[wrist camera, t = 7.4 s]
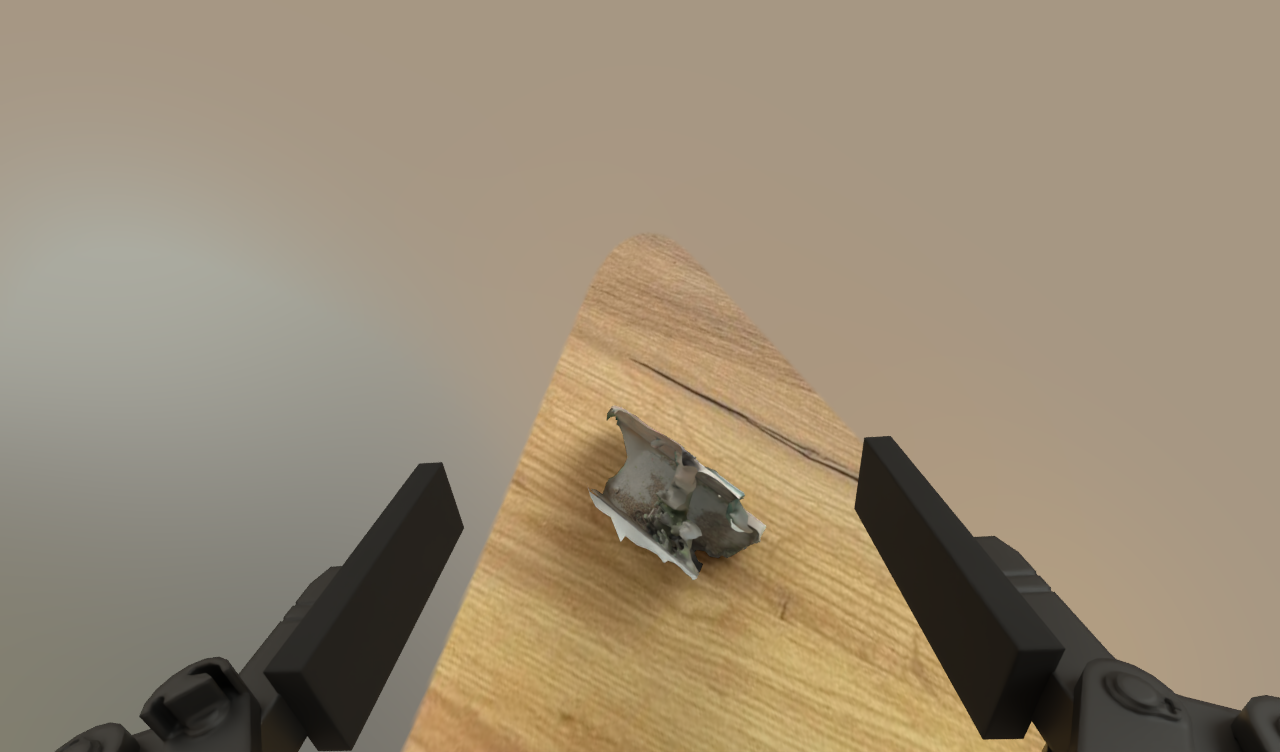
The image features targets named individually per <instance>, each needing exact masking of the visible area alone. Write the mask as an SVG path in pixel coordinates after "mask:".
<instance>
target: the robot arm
mask: <svg viewBox="0 0 1280 752" xmlns="http://www.w3.org/2000/svg"><path fill="white" fill-rule="evenodd" d="M854 509H855V510H856V512H857V514H858V516H859V518H860V519H861V521H862V523H863V525H864V527H865V528H866V530H867V532H868V534H869V536H870V537H871V539H872V541H873V543H874V545H875V546H876V548H877V550H878V552H879V554H880V555H881V557H882V559H883V561H884V563H885V564H886V566H887V568H888V570H889V572H890V573H891V575H892V577H893V579H894V581H895V582H896V584H897V586H898V588H899V590H900V591H901V593H902V595H903V597H904V599H905V600H906V602H907V604H908V606H909V607H910V609H911V611H912V613H913V615H914V616H915V618H916V620H917V622H918V624H919V625H920V627H921V629H922V631H923V633H924V634H925V636H926V638H927V640H928V642H929V643H930V645H931V647H932V649H933V651H934V652H935V654H936V656H937V658H938V660H939V661H940V663H941V665H942V667H943V669H944V670H945V672H946V674H947V676H948V678H949V679H950V681H951V683H952V685H953V687H954V688H955V690H956V692H957V694H958V696H959V697H960V699H961V701H962V703H963V705H964V706H965V708H966V710H967V712H968V714H969V715H970V717H971V719H972V721H973V722H974V724H975V726H976V728H977V730H978V731H979V733H980V735H981V737H982V739H1023V738H1024V736H1025V734H1026V732H1027V730H1028V728H1029V726H1030V724H1031V721H1032V722H1033V723H1034V725H1035V726H1036V728H1037V729H1038V731H1039V732H1040V734H1041V735H1042V737H1043V739H1044V740H1045V742H1046V744H1045V746H1044V748H1043V750H1042V752H1280V698H1279V697H1273V696H1268V695H1265V696H1258V697H1253V698H1251V699H1250V701H1249V702H1248V703H1247V704H1246V706H1245V707H1244V708H1243V709H1242V711H1240V710H1236V709H1232V708H1228V707H1224V706H1220V705H1216V704H1212V703H1208V702H1204V701H1200V700H1196V699H1192V698H1187V697H1184V696H1181V695H1178V694H1175V693H1174V692H1173V691H1172V690H1171V689H1170V688H1168V687H1167V686H1166V685H1164V684H1163V683H1162V682H1161V681H1159V680H1158V679H1157V678H1156V677H1154V676H1153V675H1151V674H1149V673H1147V672H1145V671H1144V670H1142V669H1140V668H1138V667H1136V666H1134V665H1131V664H1129V663H1126V662H1123V661H1120V660H1117V659H1115V658H1114V657H1113V656H1112V655H1111V654H1110V653H1109V652H1108V651H1107V649H1106V648H1105V647H1104V646H1103V645H1102V644H1101V643H1100V642H1099V641H1098V640H1097V639H1096V637H1095V636H1094V635H1093V634H1092V633H1091V632H1090V631H1089V630H1088V628H1087V627H1086V626H1085V625H1084V624H1083V623H1082V622H1081V621H1080V620H1079V618H1078V617H1077V616H1076V615H1075V614H1074V613H1073V612H1072V611H1071V610H1070V608H1069V607H1068V606H1067V605H1066V604H1065V603H1064V602H1063V601H1062V600H1061V599H1060V598H1059V596H1058V595H1057V594H1056V593H1055V592H1052V591H1051V587H1049V585H1048V584H1047V583H1046V582H1045V581H1044V580H1043V579H1042V578H1041V577H1040V576H1038V575H1037V574H1036V571H1035V570H1034V569H1033V568H1032V567H1031V565H1030V564H1029V563H1028V562H1027V561H1026V560H1025V559H1024V558H1023V557H1022V555H1021V554H1020V553H1019V552H1018V551H1016V550H1015V549H1013V548H1011V547H1010V546H1009V545H1007V544H1006V543H1004V542H1003V541H1001V540H1000V539H998V538H997V537H995V536H988V537H973V536H972V534H971V533H970V532H969V531H968V529H967V528H966V527H965V526H964V525H963V523H962V522H961V521H960V520H959V519H958V517H957V516H956V515H955V514H954V512H952V510H951V509H950V508H949V506H948V505H947V504H946V503H945V502H944V500H943V499H942V498H941V497H940V495H939V494H938V493H937V492H936V491H935V489H934V488H933V487H932V486H931V485H930V483H929V482H928V481H927V480H926V478H925V477H924V476H923V475H922V474H921V472H920V471H919V470H918V469H917V468H916V466H915V465H914V464H913V463H912V462H911V460H910V459H909V458H908V457H907V455H906V454H905V453H904V452H903V451H902V449H901V448H900V447H899V446H898V444H897V443H896V442H895V441H894V440H893V438H892V437H891V436H883V437H866V438H864V444H863V451H862V458H861V465H860V472H859V480H858V487H857V494H856V501H855V508H854ZM463 529H464V526H463V523H462V520H461V517H460V514H459V511H458V508H457V505H456V502H455V499H454V496H453V493H452V490H451V487H450V484H449V481H448V478H447V475H446V472H445V469H444V466H443V463H442V462H440V463H423V464H419V465H418V466H417V467H416V469H415V470H414V471H413V472H412V474H411V475H410V477H409V478H408V479H407V480H406V482H405V483H404V484H403V486H402V487H401V489H400V490H399V491H398V492H397V494H396V495H395V497H394V498H393V499H392V500H391V502H390V503H389V504H388V506H387V507H386V509H385V510H384V511H383V512H382V514H381V515H380V517H379V518H378V519H377V520H376V522H375V523H374V525H373V526H372V527H371V529H370V530H369V531H368V532H367V534H366V535H365V536H364V538H363V539H362V541H361V542H360V543H359V544H358V546H357V547H356V548H355V550H354V551H353V553H352V554H351V555H350V557H349V558H348V559H347V560H346V562H345V563H344V565H343V566H337V567H330V568H329V569H328V570H326V571H325V572H324V573H323V574H322V575H320V576H319V577H318V578H317V579H315V580H314V581H313V582H312V583H311V584H310V585H309V586H308V587H307V589H306V590H305V591H304V592H303V594H302V595H301V596H300V597H299V599H298V600H297V601H296V605H295V606H292V607H291V609H290V610H289V611H288V612H287V614H286V615H285V616H284V620H283V621H282V622H280V623H279V624H278V625H277V626H276V628H275V629H274V630H273V631H272V633H271V634H270V635H269V636H268V638H267V639H266V640H265V642H264V643H263V644H262V645H261V647H260V648H259V649H258V650H257V652H256V653H255V654H254V656H253V657H252V658H251V659H250V660H249V662H248V663H247V664H246V666H245V667H244V668H243V669H242V671H241V672H240V673H239V674H238V673H237V672H236V671H235V669H234V668H233V667H232V665H231V664H230V663H229V661H228V660H226V659H224V658H221V657H213V658H207V659H204V660H201V661H198V662H196V663H194V664H191V665H189V666H187V667H186V668H184V669H182V670H181V671H179V672H178V673H176V674H175V675H173V676H172V677H170V678H169V679H168V680H167V681H166V682H165V683H164V684H162V685H161V686H160V687H159V688H158V689H157V690H156V691H155V692H154V693H153V694H152V696H151V697H150V698H149V699H148V701H147V702H146V703H145V705H144V707H143V709H142V711H141V714H140V718H141V719H143V721H144V722H145V723H146V724H147V725H148V726H149V727H150V728H151V729H149V730H146V731H143V732H140V733H137V734H134V735H131V734H130V733H129V732H128V731H127V730H126V729H125V728H124V727H123V726H122V725H121V724H116V723H107V724H103V725H99V726H96V727H93V728H91V729H89V730H87V731H86V732H83V733H81V734H79V735H77V736H76V737H74V738H73V739H71V740H70V741H69V742H67V743H66V744H64V745H63V746H62V747H60V748H59V749H57V750H56V751H55V752H298V751H299V749H300V747H301V746H302V744H303V742H304V741H305V739H306V737H307V736H308V737H309V739H310V740H311V742H312V743H313V744H314V746H315V747H316V748H317V750H318V751H344V750H345V751H348V750H349V751H351V750H352V749H353V747H354V745H355V743H356V741H357V739H358V737H359V735H360V733H361V731H362V729H363V727H364V725H365V723H366V721H367V719H368V717H369V715H370V713H371V711H372V709H373V707H374V705H375V703H376V701H377V699H378V697H379V695H380V693H381V691H382V689H383V687H384V685H385V683H386V681H387V679H388V677H389V675H390V673H391V671H392V670H393V667H394V666H395V663H396V661H397V660H398V657H399V656H400V654H401V652H402V650H403V648H404V646H405V644H406V642H407V640H408V638H409V636H410V634H411V632H412V630H413V628H414V626H415V624H416V622H417V620H418V618H419V616H420V614H421V612H422V610H423V608H424V606H425V604H426V602H427V600H428V598H429V596H430V594H431V592H432V590H433V588H434V586H435V584H436V582H437V580H438V578H439V576H440V574H441V572H442V570H443V569H444V566H445V564H446V563H447V561H448V559H449V556H450V555H451V552H452V551H453V549H454V547H455V544H456V543H457V541H458V539H459V537H460V535H461V533H462V531H463Z"/></svg>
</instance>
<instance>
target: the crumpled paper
mask: <svg viewBox="0 0 1280 752" xmlns="http://www.w3.org/2000/svg"><path fill="white" fill-rule="evenodd" d="M613 416H616V420H618V421H617V425H618V426H619V427H620V429H621V431H622V434H623V438H624V443H625V447H626V452H627V456H628V458H627V460H626V462H625V465H624V466H623V467H622V468H621V469H620V471H619V472H618V474H617V475H615V476H614V477H612V478H610V479H609V480H608V481H607V483H606V486H605V490H604V492H603V494H602V493H600V492H598V491H597V490H595V489H592V491H593V492H594V493H595V494H596V495H597V496H598V497H597V496H596V495H594V494H592V493H591V492H590V491H589V493H590V496H591V498H592V500H593V502H594V504H595V506H596V507H597V508H598V509H599V510H601V511H602V512H603V513H605V514H606V515H608V516H610V517H611V519H612V522H613V524H614V527H615V529H616V532H617V534H618V537H619V539H620V542H621V541H622V540H623V538H624V537H625V536H626V537H627V538H629V539H630V540H631V541H632V542H634V543H635V544H636V545H638V546H641V547H643V548H646V549H648V550H650V551H652V552H654V553H655V554H657V555H658V556H659V557H660V559H661V560H662V561H663V563H665V562H667V561H671V562H673V563H675V564H676V565H678V566H679V567H680V568H681V569H682V570H683V571H684V572H685V573H686V574H687V575H689V576H691V578H692V580H695V579H696V578H698V577H697V576H698V575H699V572H700V570H701V568H702V565H703V564H702V563H701V562H699V561H698V559H697V557H696V555H695V553H694V552H695V551H696V550H701V551H705V552H706V553H707V554H708V555H709V556H710V557H716V558H719V557H720V556H722V555H723V556H724V557H726V558H728V557H730V556H732V555H734V554H736V553H737V552H739V551H740V550H742V549H743V548H744V549H746V548H747V547H748V546H750V545H752V544H754V543H758V542H760V538H761V536H762V534H763V532H764V530H765V528H766V525H765V524H763V523H762V522H761V521H760V520H758V519H757V518H756V517H754V516H753V515H752V514H751V513H749V512H748V511H746V510H745V509H744V508H743V506H742V505H741V503H740V501H739V500H741V499H743V498H744V496H745V495H744V493H743V492H742V491H740V490H739V489H737V488H736V487H735V486H733V485H732V484H731V483H729V482H728V481H727V480H726V479H724V478H723V477H721V476H720V475H719V474H718V473H717V472H716V471H715V470H713V469H710V468H708V467H704V466H703V465H702V464H700V463H699V461H697V460H696V457H694V456H693V455H691V454H690V453H689V452H688V451H686V450H685V449H684V447H683V446H681V445H680V444H679V443H677V442H676V441H674V440H672V439H670V438H668V437H667V436H665V435H663V434H661V433H660V432H658V431H656V430H654V429H653V428H651V427H649V426H648V425H647V424H645V423H644V422H643V421H641V420H640V419H639V418H638V417H637V416H635V415H633V414H631V413H630V412H628V411H627V410H625V409H623V408H622V407H618V406H615V405H614V406H612V408H611V409H610V410H609V412H608V413H607V420H608V419H609V418H610V417H613ZM587 486H588V485H587ZM588 489H589V488H588Z"/></svg>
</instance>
